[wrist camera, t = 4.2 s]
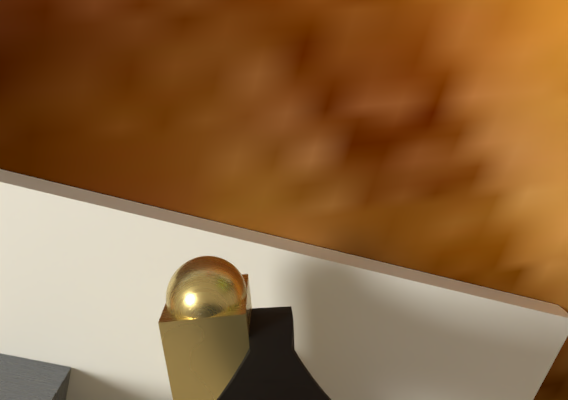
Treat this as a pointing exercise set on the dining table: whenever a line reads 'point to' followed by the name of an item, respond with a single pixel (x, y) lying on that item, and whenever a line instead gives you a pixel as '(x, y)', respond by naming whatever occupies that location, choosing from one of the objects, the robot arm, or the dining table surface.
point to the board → (264, 293)
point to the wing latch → (205, 327)
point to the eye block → (32, 379)
